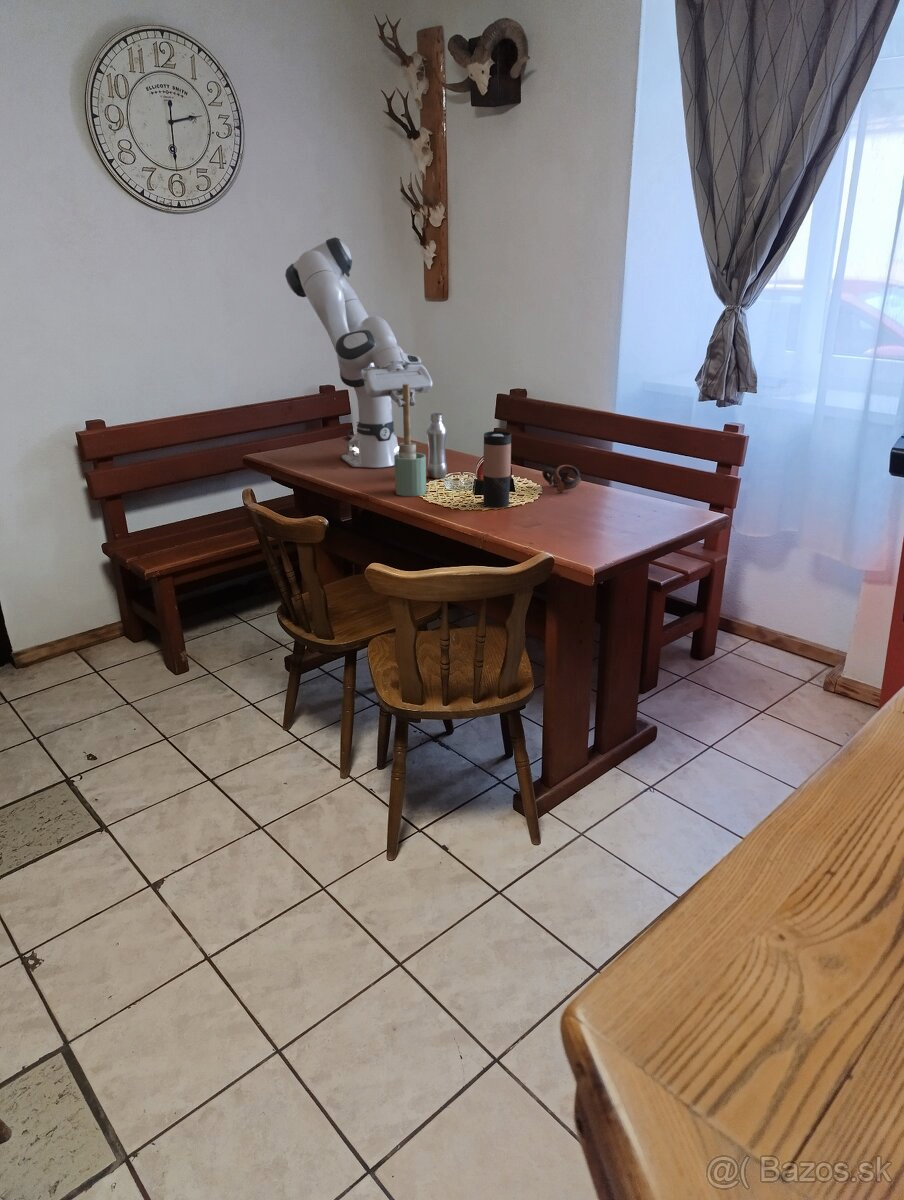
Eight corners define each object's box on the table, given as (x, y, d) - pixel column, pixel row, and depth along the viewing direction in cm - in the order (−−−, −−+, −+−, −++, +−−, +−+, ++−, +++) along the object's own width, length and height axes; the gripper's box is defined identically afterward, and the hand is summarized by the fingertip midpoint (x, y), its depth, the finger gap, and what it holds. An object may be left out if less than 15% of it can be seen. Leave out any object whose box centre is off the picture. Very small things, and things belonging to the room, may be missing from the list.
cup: (389, 491, 244) (388, 454, 239) (415, 486, 248) (415, 450, 244) (405, 498, 237) (404, 460, 232) (432, 493, 241) (431, 456, 237)
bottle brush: (396, 460, 239) (394, 383, 231) (410, 458, 242) (409, 382, 233) (404, 463, 236) (402, 386, 227) (419, 461, 238) (418, 384, 229)
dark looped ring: (580, 486, 249) (586, 467, 242) (571, 507, 244) (577, 487, 237) (543, 474, 251) (548, 454, 244) (534, 494, 246) (538, 474, 239)
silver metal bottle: (448, 475, 261) (447, 412, 254) (446, 480, 255) (445, 416, 247) (428, 474, 262) (427, 412, 254) (425, 480, 256) (424, 416, 248)
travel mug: (512, 501, 232) (514, 432, 225) (505, 509, 226) (507, 437, 218) (487, 499, 235) (488, 430, 227) (479, 506, 228) (480, 435, 220)
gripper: (361, 361, 228) (377, 401, 224) (424, 356, 238) (441, 395, 234) (355, 375, 234) (371, 415, 230) (417, 370, 243) (434, 408, 239)
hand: (407, 405), depth 232 cm, fingers closed on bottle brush
